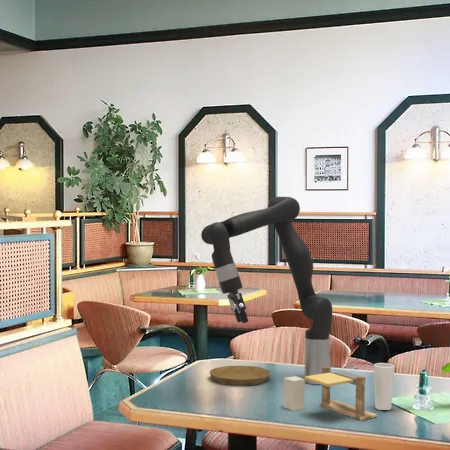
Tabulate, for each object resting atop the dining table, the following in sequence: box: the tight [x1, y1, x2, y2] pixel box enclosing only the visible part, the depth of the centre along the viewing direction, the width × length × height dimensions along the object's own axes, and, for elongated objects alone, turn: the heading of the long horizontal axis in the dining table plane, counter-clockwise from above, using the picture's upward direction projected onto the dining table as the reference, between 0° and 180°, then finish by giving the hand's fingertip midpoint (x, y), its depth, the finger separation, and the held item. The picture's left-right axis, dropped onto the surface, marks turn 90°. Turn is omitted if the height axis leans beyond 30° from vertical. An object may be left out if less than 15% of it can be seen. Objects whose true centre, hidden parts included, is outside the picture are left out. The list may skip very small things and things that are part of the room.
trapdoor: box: [304, 370, 360, 387], centre depth 236 cm, size 17×11×2 cm
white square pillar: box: [283, 375, 306, 412], centre depth 244 cm, size 5×5×10 cm
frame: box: [319, 366, 378, 422], centre depth 240 cm, size 7×20×14 cm, turn 34°
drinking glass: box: [373, 362, 395, 411], centre depth 243 cm, size 7×7×15 cm
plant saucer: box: [209, 365, 272, 386], centre depth 282 cm, size 24×24×3 cm
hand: (243, 322), depth 252 cm, fingers open, 8 cm apart
